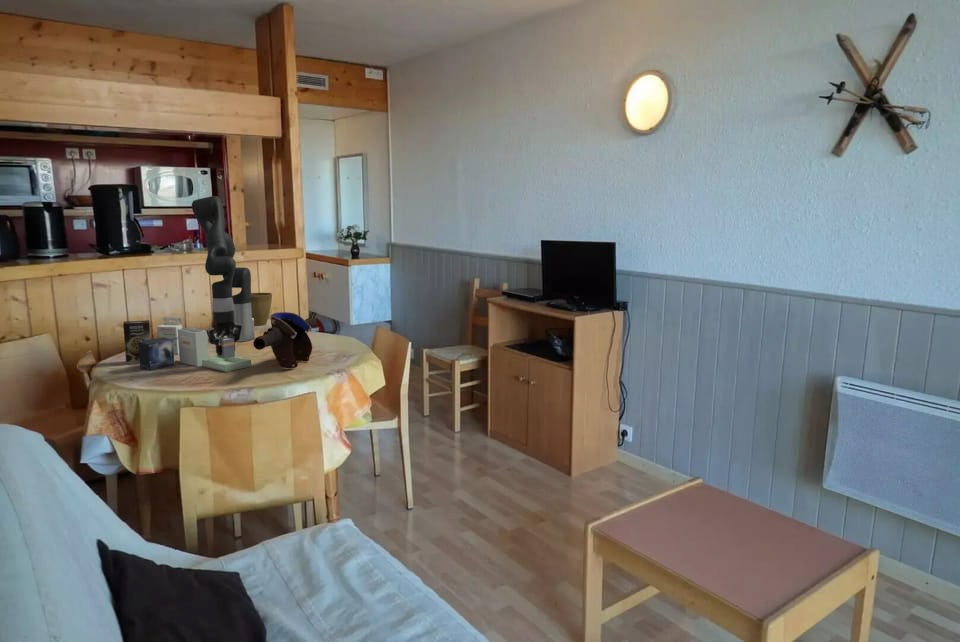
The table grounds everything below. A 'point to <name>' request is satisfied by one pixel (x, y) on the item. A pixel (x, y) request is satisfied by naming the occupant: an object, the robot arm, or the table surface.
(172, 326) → the ink cartridge box
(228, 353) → the module
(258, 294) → the plant pot
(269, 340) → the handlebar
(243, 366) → the tray
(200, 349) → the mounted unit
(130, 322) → the coffee box
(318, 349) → the table surface
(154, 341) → the small box
